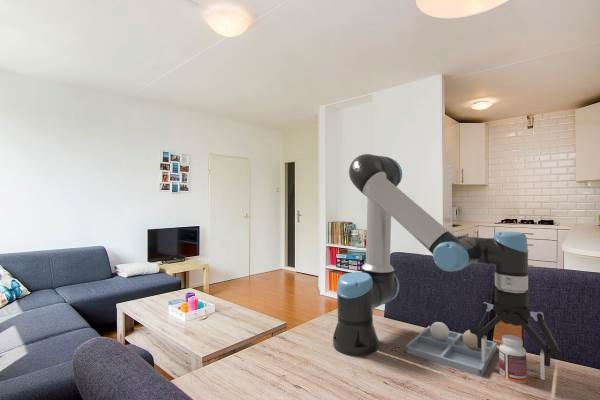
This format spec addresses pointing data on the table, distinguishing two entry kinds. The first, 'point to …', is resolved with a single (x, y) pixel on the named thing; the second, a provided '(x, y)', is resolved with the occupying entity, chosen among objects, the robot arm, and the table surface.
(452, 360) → the divided tray
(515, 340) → the pill bottle
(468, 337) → the egg brown
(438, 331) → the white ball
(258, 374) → the table surface
